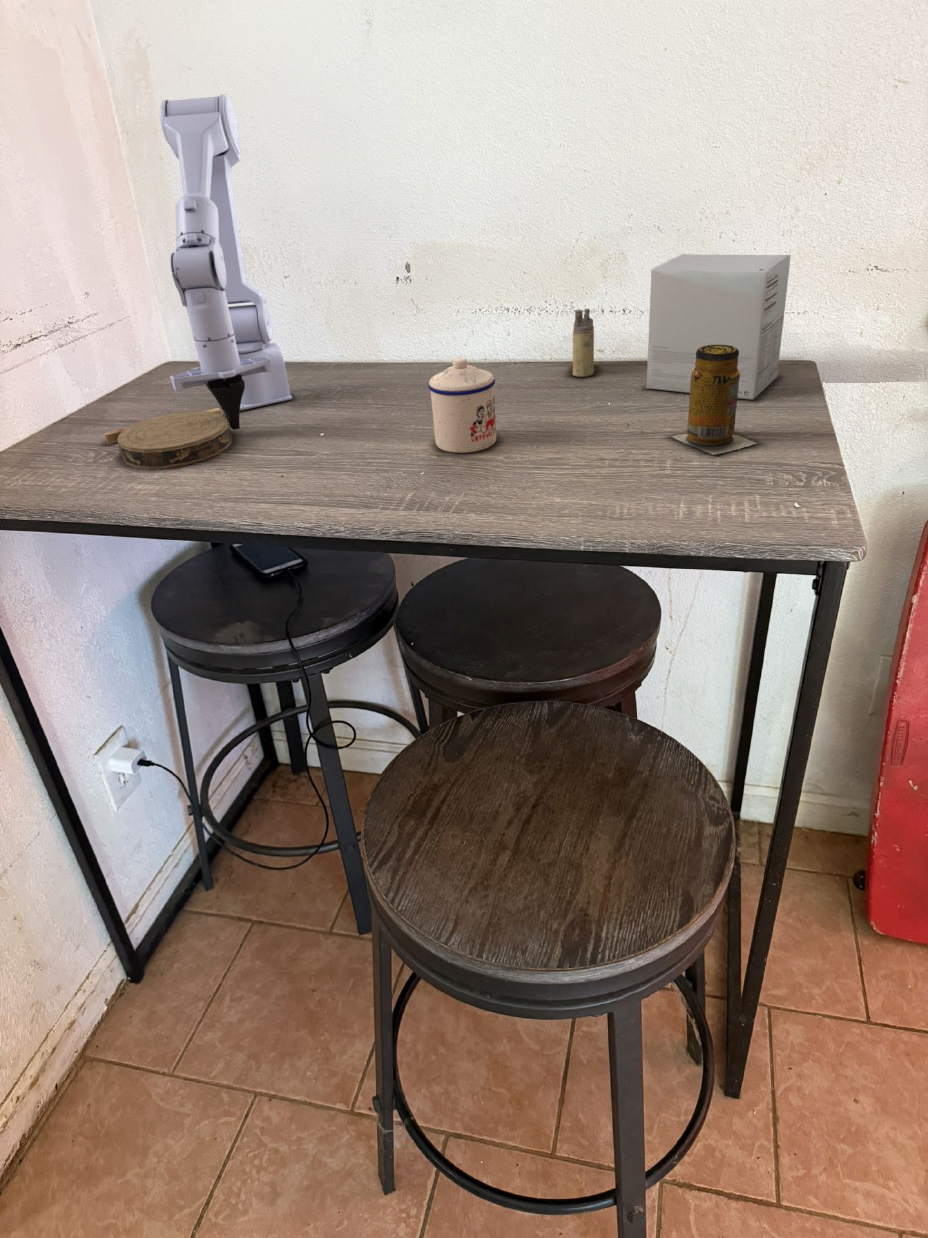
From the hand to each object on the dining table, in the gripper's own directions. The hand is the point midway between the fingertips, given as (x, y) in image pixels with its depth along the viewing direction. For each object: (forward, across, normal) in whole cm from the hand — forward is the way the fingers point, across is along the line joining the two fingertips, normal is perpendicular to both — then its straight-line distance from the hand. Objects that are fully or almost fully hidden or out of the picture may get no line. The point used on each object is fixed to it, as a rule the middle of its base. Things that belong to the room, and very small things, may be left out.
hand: (234, 427), depth 128 cm
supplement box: (+1, +69, -28) cm, 75 cm away
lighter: (+1, +58, -9) cm, 59 cm away
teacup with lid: (+1, +27, -25) cm, 37 cm away
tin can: (+1, -9, 0) cm, 9 cm away
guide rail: (+1, -9, +10) cm, 13 cm away
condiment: (+2, +52, -47) cm, 70 cm away
